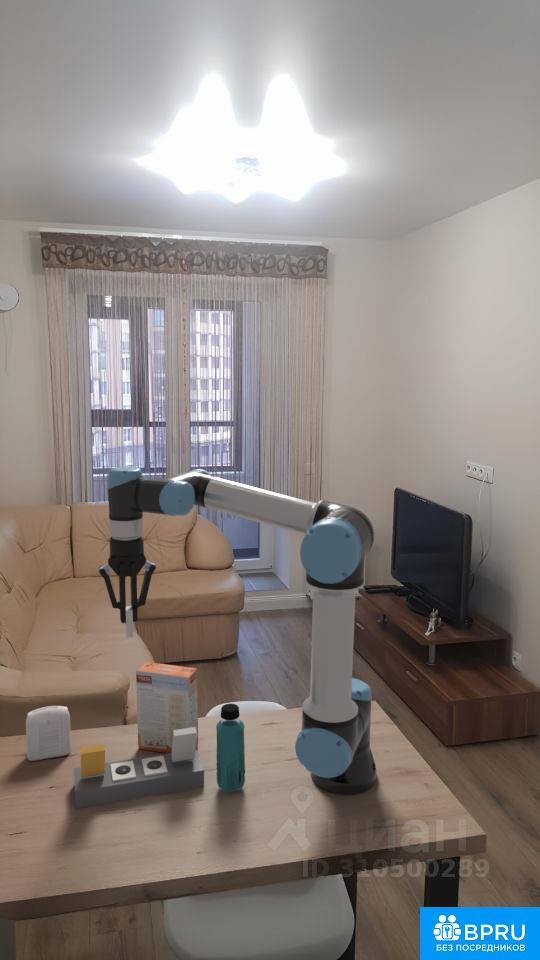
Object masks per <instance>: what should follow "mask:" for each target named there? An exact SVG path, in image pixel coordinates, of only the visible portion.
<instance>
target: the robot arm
mask: <svg viewBox="0 0 540 960" xmlns="http://www.w3.org/2000/svg"><path fill="white" fill-rule="evenodd" d="M106 489H107V499H108V502H107V503H108V531H109V533H108V535H109V536H110V537H109V557H108V560H107V563H106V564H104V565H103V566H101V565H100V566H99V567H98V572H99V575H100V576H101V577H102V578H103V579H104V583H105V587H106V590H107V593H108V596H109V600H110V603H111V606H112V608H113V609H118V610H119V620H120V622H121V624H124V625H125V629H124V630H125V636H126V638H127V639H128V638H134V623H136V622H138V619H139V618H138V609H139V608H140V607H141V606H142V607H144V606H145V605H146V602H147V598H148V593H149V589H150V584H151V580H152V576H153V574H154V573H155V570H156V569H157V566H156V564H155V563H154V561H153V562H151V561H149V560H147V557H146V556H145V551H144V550H145V549H144V547H145V545H144V544H145V543H144V536H143V534H144V513H149V514H157V515H165V516H170V517H171V516H172V517H176V516H183V517H184V516H187V515H188V514H189V513H191V510H192V509H193V508H194V506H198V507H201V508H204V509H208V510H213V511H216V512H220V513H223V514H227V515H230V516H231V515H232V516H234V517H238V518H241V519H245V520H249V521H253V522H255V523H259V524H263V525H267V526H271V527H275V528H277V529H281V530H285V531H288V532H291V533H296V534H299V535H303V538H302V541H301V543H300V548H299V549H300V550H299V557H300V558H299V559H300V562H301V564H302V567H303V569H304V570H305V583H306V584H307V586H308V587H310V588H311V589H312V614H311V615H312V617H311V621H312V622H311V623H312V624H311V648H310V649H311V652H310V656H311V657H310V688H309V692H310V693H309V696H308V697H306V699H305V700H304V701H303V703H302V709H301V710H302V714H301V715H302V717H301V731H300V732H299V733H298V735H297V737H296V741H295V747H294V749H295V754H296V757H297V759H298V761H299V762H300V764H301V765H302V766H303V767H305V770H307V771H308V772H310V776H311V778H312V781H313V782H314V783H315V784H316V785H317V786H318V787H319V788H321V789H323V790H325V791H327V792H330V793H333V794H339V795H355V794H361V793H364V792H366V791H368V790H369V789H371V788H372V787H373V786H374V785H375V784H376V781H377V765H376V762H375V759H374V756H373V752H372V748H371V746H370V745H371V742H370V741H371V721H372V720H371V719H372V716H371V715H372V701H373V697H372V688H371V686H370V685H369V684H368V683H366V682H364V681H363V680H360V679H357V678H355V677H353V668H354V666H353V665H354V664H353V662H354V643H355V642H354V639H355V615H356V614H355V613H356V593H357V591H358V590H361V588H362V587H363V586H364V582H365V581H364V580H365V560H366V559H365V558H366V556H367V554H369V552H370V551H371V549H372V547H373V545H374V540H375V529H374V526H373V524H372V522H371V520H370V518H369V517H368V516H367V515H366V514H365V513H364V512H362V511H361V510H360V509H358V508H355V507H352V506H348V505H345V504H340V503H336V502H332V501H329V500H324V499H321V500H319V501H318V502H314V501H310V500H305V499H302V498H298V497H294V496H289V495H286V494H282V493H278V492H274V491H270V490H267V489H262V488H259V487H255V486H251V485H247V484H243V483H240V482H235V481H232V480H227V479H223V478H221V477H217V476H213V475H212V474H211V473H210V472H209V471H207V470H206V469H202V468H197V469H196V468H195V469H190V470H187V471H185V472H182V473H180V474H177V475H173V476H170V477H167V478H163V479H155V478H146V477H143V472H142V470H141V468H139V467H136V466H135V467H134V466H121V467H120V466H118V467H113V468H112V469H110V470H109V471H108V474H107V487H106ZM143 568H144V570H145V572H144V575H143V581H142V584H141V589H140V594H139V597H138V583H137V582H138V575H139V574H140V571H141V570H142V569H143ZM110 569H111V570H112V571H113V572H114V573H115V574H116V576H118V590H119V591H118V592H119V593H118V594H119V599H118V600H119V601H117V597H116V595H115V591H114V587H113V584H112V580H111V578H110V577H111V576H110V574H111V570H110ZM127 577H129V581H130V605H129V606H128V605H127V603H126V602H127V600H126V599H127V596H126V595H127V593H126V578H127Z"/></svg>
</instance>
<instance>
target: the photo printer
mask: <svg viewBox="0 0 540 960" xmlns="http://www.w3.org/2000/svg"><path fill="white" fill-rule="evenodd" d="M69 711H70V710H68V706H63V705H50V706H44V707H40V708H36V709H33V710H31V711H29V712H27V717H26V720H25V737H26V739H25V740H26V757H27V760H28V761H30V762H32V761H33V762H34V761H39V760H45V759H51V758H56V757H62V756H66V755H69V754H70V753H71V751H72V737H71V735H72V734H71V716H70V712H69Z"/></svg>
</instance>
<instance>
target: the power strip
mask: <svg viewBox="0 0 540 960" xmlns="http://www.w3.org/2000/svg"><path fill="white" fill-rule="evenodd" d="M73 777H74V778H73V780H74V781H73V782H74V799H75V809H81V808H87V807H93V805H94V806H99V805H98V804H100V805H104V803H106V804H109V802H111V803H117V802H122V801H127V800H132V799H133V798H134V799H138V798H139V797H140V798H144V797H146V798H147V797H151V796H156V795H162V794H163V795H164V794H168V793H174V792H179V791H185V790H191V789H196V788H202V787H205V769H204V766H203V765H202V761H201V759H200V756H199V752H198V750H197V748H196V749H195V757H194V759H193V760H188V761H181V762H175V763H172V753H162V754H155V755H149V756H143V757H136V758H130V759H124V760H123V759H122V760H118V761H111V762H105V774H101V775H95V776H89V777H83V778H82V776H81V766H79V767H73ZM116 801H117V802H116Z"/></svg>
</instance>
